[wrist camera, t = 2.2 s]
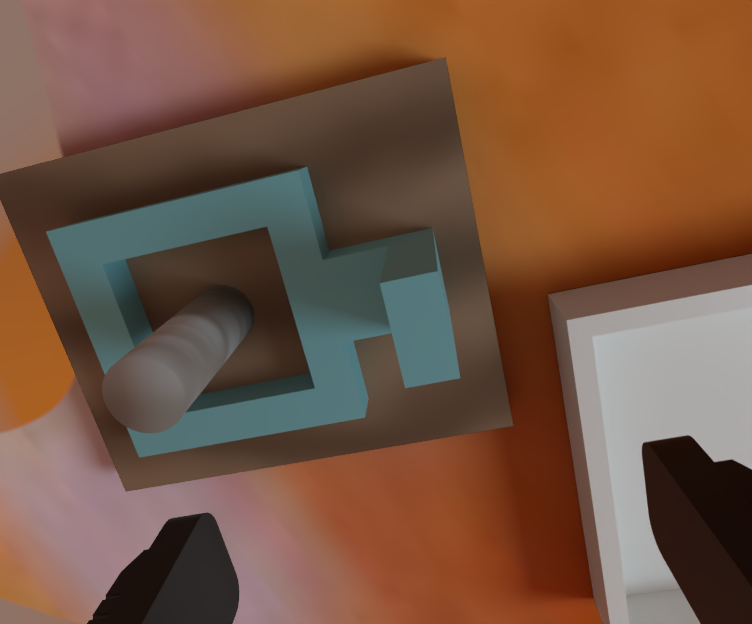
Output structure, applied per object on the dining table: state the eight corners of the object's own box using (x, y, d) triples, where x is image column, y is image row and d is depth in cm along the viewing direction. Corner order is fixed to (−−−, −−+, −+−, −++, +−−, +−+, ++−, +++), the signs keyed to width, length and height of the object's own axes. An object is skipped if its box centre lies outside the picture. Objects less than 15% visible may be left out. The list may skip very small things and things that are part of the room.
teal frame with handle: (71, 223, 28) (-59, 263, 20) (414, 140, 26) (412, 149, 18) (156, 437, 31) (72, 538, 24) (464, 381, 29) (480, 473, 22)
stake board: (17, 172, 29) (-203, 202, 19) (443, 61, 26) (460, 24, 16) (141, 470, 35) (23, 622, 24) (507, 407, 32) (551, 549, 21)
